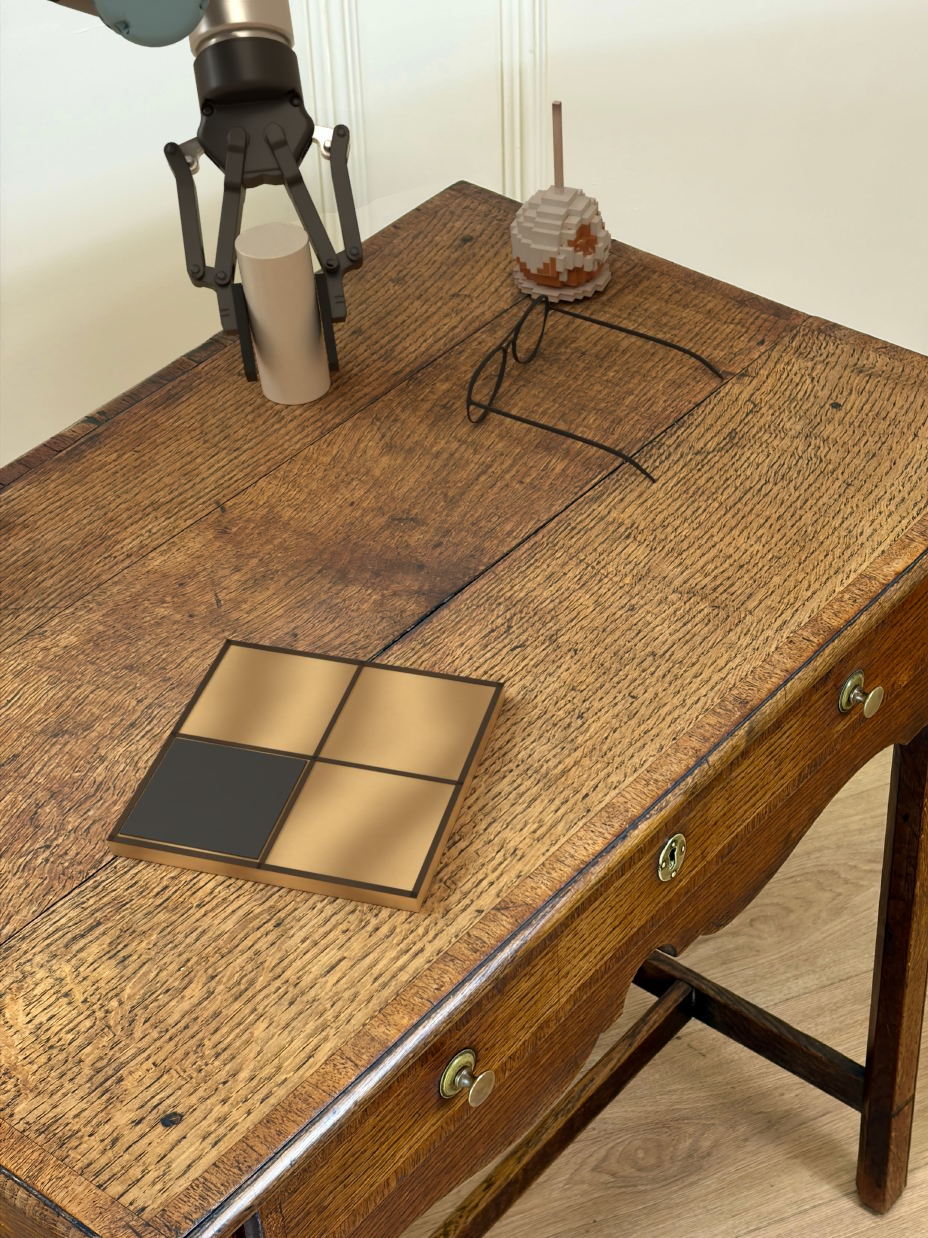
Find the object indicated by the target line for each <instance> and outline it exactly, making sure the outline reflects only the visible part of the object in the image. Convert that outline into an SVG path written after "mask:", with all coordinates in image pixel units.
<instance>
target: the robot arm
mask: <svg viewBox="0 0 928 1238" xmlns="http://www.w3.org/2000/svg"><path fill="white" fill-rule="evenodd" d="M47 2H51V3H54V4H56V5H59V6H61V7H65V8H67V9H71V10H74V11H77V12H81V13H84V14H87V15H90V16H93V17H97V18H99V20H100V21H101V22H102V23H103V25H104V26H105V27H107V28H108V29H110V30H111V31H112V32H114V33H115V34H117V35H119V36H121V37H122V38H123V39H125V40H126V41H127V42H130V43H131V44H135V45H138V46H141V47H145V48H163V47H169V46H172V45H174V44H177V43H179V42H181V41H183V40H184V39H186V38H187V37H188V43H189V49H190V52H191V54H192V56H193V57H194V58H195V59H194V61H193V64H192V67H193V75H194V79H195V88H196V94H197V99H198V100H197V101H198V106H199V114H200V121H199V125H198V127H197V130H196V136H195V137H193V138H190V139H188V140H186V141H184V142H181V143H179V144H178V143H177V142H175V141H169V142H167V143H165V145H164V146H163V150H162V151H163V155H164V157H165V159H166V162H167V165H168V167H169V169H170V171H171V173H172V175H173V178H174V179H175V185H176V194H177V203H178V210H179V218H180V225H181V234H182V241H183V250H184V257H185V258H184V259H185V267H186V272H187V275H188V277H189V279H190V282H191V284H192V285H193V287H195V288H199V289H201V288H206V289H209V290H212V291H214V292H215V293H216V299H217V300H216V301H217V305H218V313H219V319H220V325H221V327H222V330H223V332H224V333H225V335H226V337H230V336H238V339H239V340H238V341H239V346H240V351H241V359H242V366H243V371H244V376H245V378H246V381H247V383H254V382H259V377H258V371H257V370H258V369H257V365H256V364H257V362H256V356H255V349H254V344H253V339H252V334H251V328H250V323H249V318H248V312H247V307H246V302H245V297H244V291H243V286H242V282H235V277H236V270H237V264H238V260H237V254H236V249H235V241H236V238H237V237H238V236H239V235H240V234H241V229H242V222H243V213H244V212H243V211H244V205H245V202H246V196H247V190H248V189H255V188H257V187H260V186H263V185H269V186H275V187H276V186H283V187H284V189H285V191H286V193H287V195H288V198H289V199H290V201H291V203H292V206H293V208H294V210H295V212H296V215H297V217H298V219H299V221H300V223H301V225H302V228H303V229H304V230H305V231H306V232H307V234H308V237H309V244H310V247H311V248H312V250H313V253H314V255H315V257H316V259H317V261H318V264H319V267H320V268H321V271H322V272H320V273H314V277H315V283H316V290H317V296H318V303H319V309H320V316H321V322H322V329H323V336H324V342H325V349H326V355H327V362H328V368H329V373H337V372H340V363H339V357H338V349H337V344H336V337H335V330H334V324H339V323H340V324H341V323H346V321H347V318H348V310H347V309H348V308H347V303H346V297H345V290H344V283H343V280H344V278H345V276H346V275H347V274H348V273H351V272H352V271H354V270H355V271H358V270H360V269H361V268H362V267H363V266H364V250H363V244H362V238H361V234H360V233H361V231H360V228H359V221H358V216H357V212H356V206H355V200H354V195H353V190H352V183H351V178H350V173H349V167H348V162H349V157H350V152H351V134H350V133H351V132H350V128H349V127H348V126H347V125H345V124H343V123H339V124H336V125H335V126H334V127H329V126H324V125H319V124H315V121H314V119H313V118H312V117H311V115H310V114H309V113H308V111H307V109H306V106H305V99H304V92H303V86H302V80H301V72H300V67H299V60H298V55H297V53H296V52H295V50H293V49H294V46H295V44H296V43H295V35H294V29H293V28H294V27H293V21H292V14H291V7H290V1H289V0H47ZM313 143H314V144H316V145H317V146H318V147H319V150H320V156H321V157H322V159H324V160H326V161H329V168H330V174H331V182H332V188H333V194H334V198H335V203H336V210H337V215H338V220H339V226H340V233H341V236H342V237H341V238H342V243H343V248H344V249H342V250H341V251H339V252H337V253H336V250H335V248H334V246H333V243H332V241H331V238H330V237H329V235H328V232H327V230H326V228H325V225H324V223H323V221H322V219H321V217H320V214H319V212H318V210H317V208H316V206H315V203H314V201H313V199H312V197H311V196H312V195H311V194H310V192H309V190H308V187H307V185H306V183H305V181H304V178H303V175H302V172H301V170H300V167H301V165H302V163H303V161H304V159H305V158H306V155H307V154H308V152H309V150H310V148H311V147H312V145H313ZM202 155H205V156H206V157H207V158H208V159H209V161H210V162H212V164H214V165H215V166H216V168H217V169H218V170H220V172H221V173H222V174H223V175H224V177H223V192H222V193H223V194H222V200H221V201H222V202H221V209H220V218H219V226H218V232H217V233H218V234H217V241H216V242H217V243H216V250H215V257H214V258H215V259H214V266H209V265H207V264H206V255H205V247H204V237H203V229H202V222H201V215H200V206H199V197H198V190H197V186H196V183H195V178H194V176H195V175H196V174H198V173H199V171H200V169H201V165H200V159H201V157H202Z"/></svg>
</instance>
